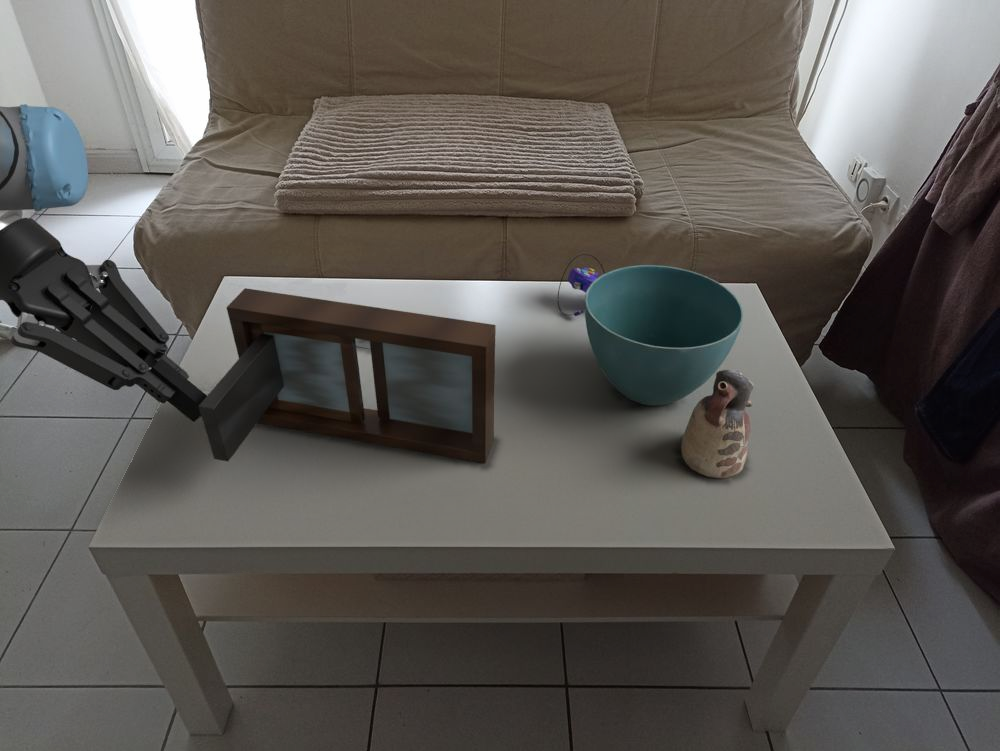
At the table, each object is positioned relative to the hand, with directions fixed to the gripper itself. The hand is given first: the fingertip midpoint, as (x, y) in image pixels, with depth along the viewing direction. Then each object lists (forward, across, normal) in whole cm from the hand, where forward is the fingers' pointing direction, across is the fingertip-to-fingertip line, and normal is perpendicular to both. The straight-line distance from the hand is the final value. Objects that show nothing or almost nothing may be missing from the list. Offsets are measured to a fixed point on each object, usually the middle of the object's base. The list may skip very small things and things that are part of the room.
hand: (203, 412), depth 75 cm
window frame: (+16, -11, +3) cm, 19 cm away
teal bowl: (+38, -28, +24) cm, 52 cm away
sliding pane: (+10, -4, -1) cm, 11 cm away
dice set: (+12, -30, -1) cm, 33 cm away
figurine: (+43, -16, +30) cm, 55 cm away
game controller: (+31, -43, +18) cm, 56 cm away
